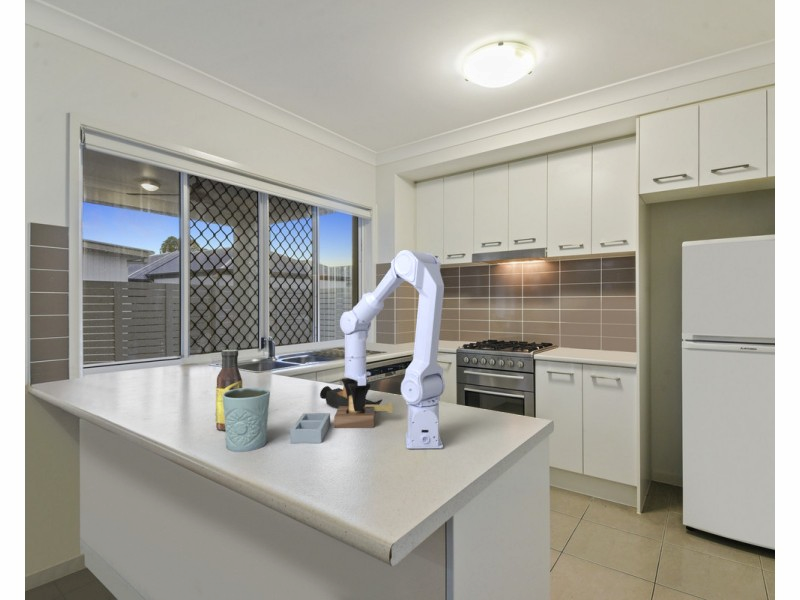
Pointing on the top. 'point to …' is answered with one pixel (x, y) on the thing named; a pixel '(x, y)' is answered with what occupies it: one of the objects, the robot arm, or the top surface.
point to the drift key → (381, 407)
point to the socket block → (354, 418)
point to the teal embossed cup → (246, 418)
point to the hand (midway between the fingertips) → (355, 407)
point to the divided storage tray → (310, 428)
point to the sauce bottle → (226, 383)
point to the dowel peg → (351, 408)
